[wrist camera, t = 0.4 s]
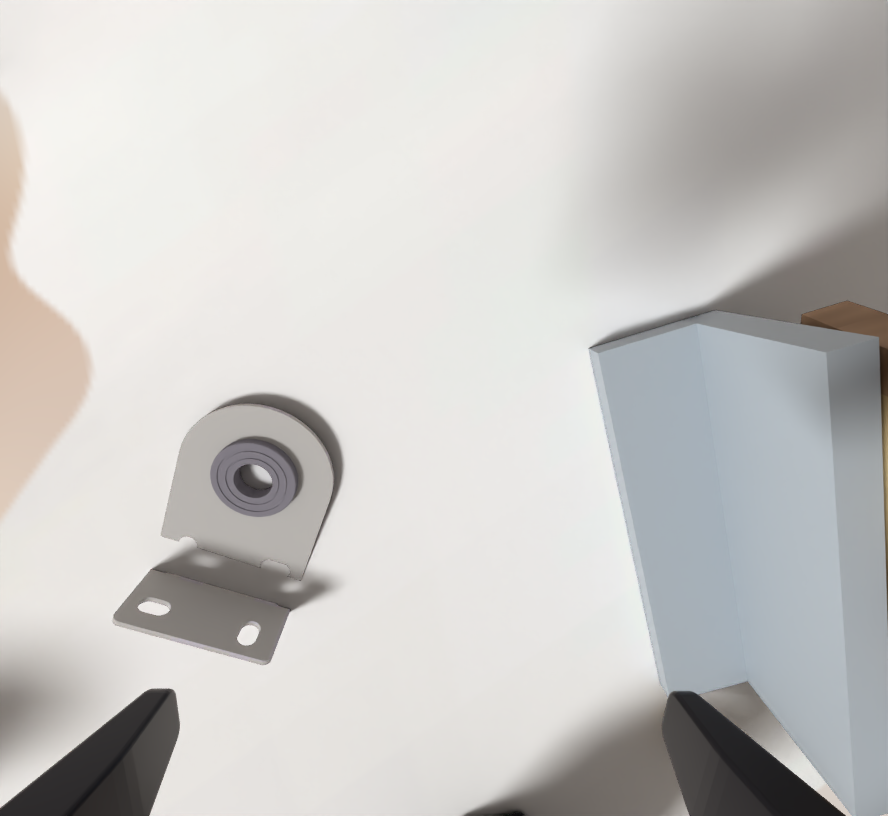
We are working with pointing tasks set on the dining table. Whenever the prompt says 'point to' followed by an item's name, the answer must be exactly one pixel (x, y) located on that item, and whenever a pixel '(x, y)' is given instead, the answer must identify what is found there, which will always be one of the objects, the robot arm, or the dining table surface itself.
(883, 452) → the wooden serving tray
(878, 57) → the dining table surface
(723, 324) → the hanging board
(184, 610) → the bracket
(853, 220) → the dining table surface
